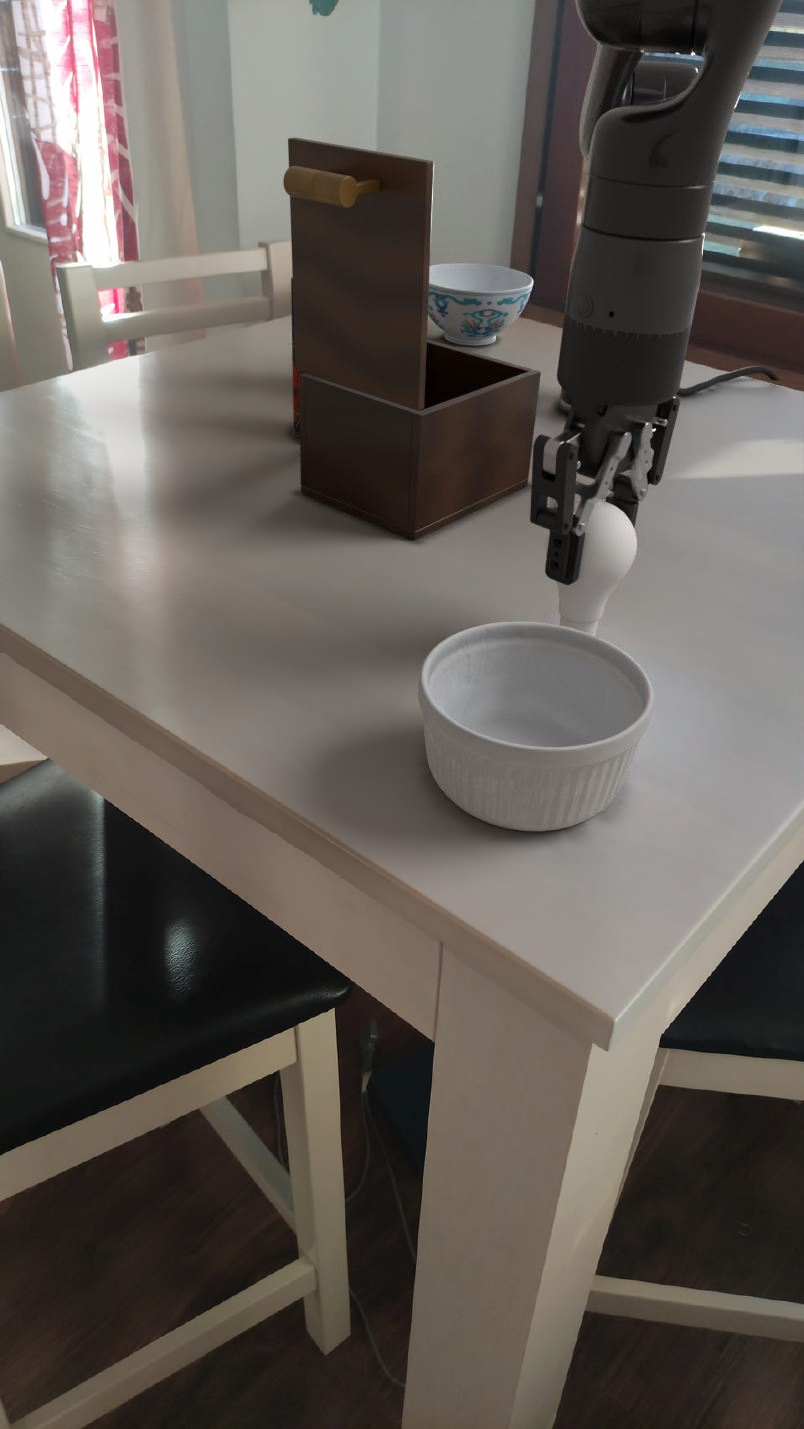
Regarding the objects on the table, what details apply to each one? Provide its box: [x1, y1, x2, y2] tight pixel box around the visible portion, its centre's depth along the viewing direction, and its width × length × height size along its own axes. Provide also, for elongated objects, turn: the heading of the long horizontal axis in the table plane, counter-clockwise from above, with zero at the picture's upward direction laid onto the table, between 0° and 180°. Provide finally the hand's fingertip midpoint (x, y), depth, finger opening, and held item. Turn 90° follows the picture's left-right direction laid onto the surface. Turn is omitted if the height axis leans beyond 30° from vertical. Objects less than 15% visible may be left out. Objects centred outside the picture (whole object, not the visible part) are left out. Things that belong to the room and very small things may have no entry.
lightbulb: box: [544, 500, 638, 636], centre depth 73 cm, size 6×6×11 cm
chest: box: [299, 338, 542, 541], centre depth 95 cm, size 17×14×11 cm
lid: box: [282, 137, 435, 411], centre depth 79 cm, size 17×14×5 cm
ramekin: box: [417, 620, 655, 832], centre depth 61 cm, size 13×13×7 cm
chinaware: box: [428, 262, 534, 347], centre depth 137 cm, size 15×15×8 cm
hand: (588, 562), depth 72 cm, fingers closed on lightbulb, 6 cm apart
